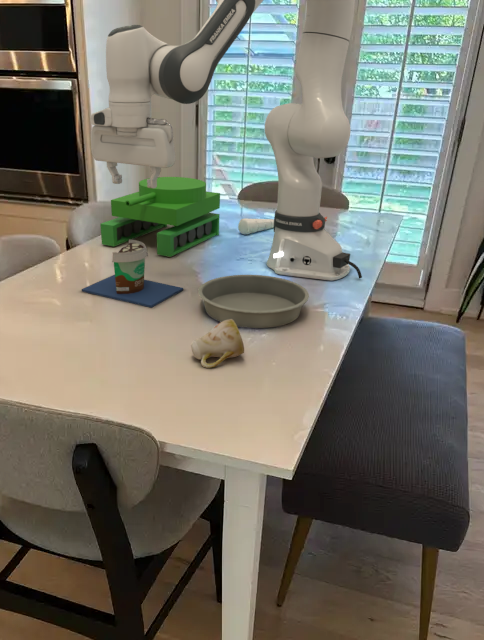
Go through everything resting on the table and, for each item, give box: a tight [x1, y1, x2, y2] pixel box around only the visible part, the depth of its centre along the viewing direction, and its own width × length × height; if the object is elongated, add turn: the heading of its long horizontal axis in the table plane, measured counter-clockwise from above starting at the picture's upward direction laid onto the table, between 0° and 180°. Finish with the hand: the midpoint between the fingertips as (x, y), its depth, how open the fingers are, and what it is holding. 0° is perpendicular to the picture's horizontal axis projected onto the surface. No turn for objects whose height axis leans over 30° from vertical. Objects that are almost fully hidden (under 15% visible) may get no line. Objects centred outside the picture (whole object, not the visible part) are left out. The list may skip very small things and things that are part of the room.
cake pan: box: [197, 274, 310, 329], centre depth 135 cm, size 25×25×4 cm
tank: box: [100, 176, 221, 258], centre depth 178 cm, size 24×35×16 cm
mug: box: [190, 319, 245, 369], centre depth 114 cm, size 8×10×10 cm
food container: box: [111, 239, 149, 294], centre depth 142 cm, size 12×6×10 cm, turn 168°
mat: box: [81, 274, 184, 309], centre depth 145 cm, size 20×14×1 cm
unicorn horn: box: [237, 217, 274, 235], centre depth 197 cm, size 5×24×5 cm, turn 130°
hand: (134, 185), depth 135 cm, fingers open, 8 cm apart
